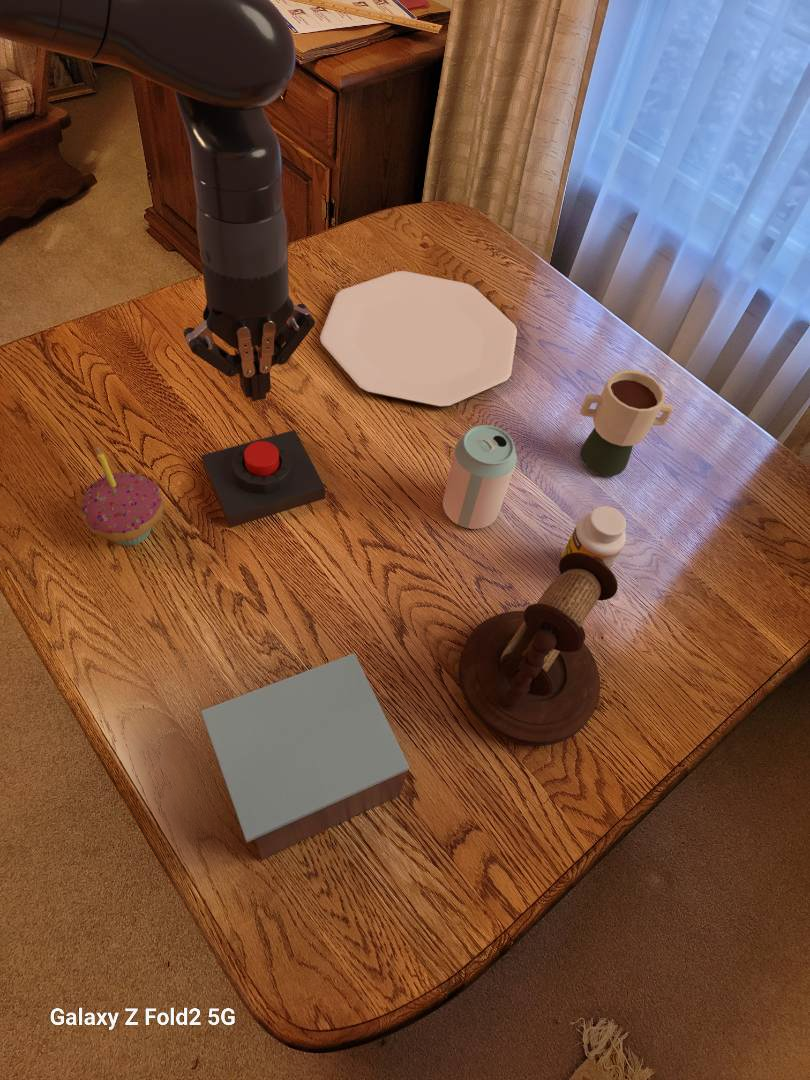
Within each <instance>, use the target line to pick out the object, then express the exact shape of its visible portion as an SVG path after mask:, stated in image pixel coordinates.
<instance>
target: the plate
mask: <svg viewBox="0 0 810 1080" xmlns="http://www.w3.org/2000/svg"><path fill="white" fill-rule="evenodd" d="M517 334H518V329H517V327H516V324H514V322H513V321H511V320H510V319H509V318H508V317H507V316H506V315H505V314H503V312H502V311H500V310H499V308H497V307H496V306H495V304H493V303H492V302H491V301H489V299H488V298H486V296H485V295H483V293H482V292H481V291H479V290H478V289H477V288H476V287H475V286H474V285H472V284H469V283H466V282H462V281H457V280H452V279H447V278H441V277H436V276H431V275H428V274H427V275H426V274H422V273H416V272H412V271H406V270H396V271H393V272H390V273H387V274H384V275H381V276H378V277H375V278H373V279H369V280H366V281H364V282H360V283H357V284H354V285H351V286H349V287H346V288H342V289H340V290H339V291H338V292H337V293H336V294H335V296H334V299H333V301H332V304H331V306H330V309H329V310H328V314H327V317H326V320H325V322H324V325H323V327H322V330H321V333H320V335H319V340H320V344H321V346H322V347H323V348H324V349H325V350H326V351H327V352H328V354H329V355H330V356H331V357H332V358H333V360H334V361H335V362H336V363H337V364H338V365H339V367H341V369H342V370H343V372H345V373H346V375H348V377H349V378H350V379H351V380H352V381H353V383H354V384H355V385H356V386H357V387H358V388H359V389H360V390H362V391H364V392H366V393H368V394H373V395H378V396H383V397H388V398H392V399H398V400H402V401H407V402H413V403H417V404H421V405H427V406H430V407H431V406H432V407H437V408H448V407H452V406H455V405H456V404H459V403H461V402H463V401H465V400H468V399H470V398H473V397H475V396H478V395H479V394H481V393H484V392H486V391H489V390H491V389H493V388H495V387H498V386H499V385H502V384H504V383H507V381H508V380H510V378H511V375H512V371H513V365H514V364H513V363H514V357H515V351H516V342H517Z"/></svg>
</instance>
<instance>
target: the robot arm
mask: <svg viewBox="0 0 810 1080" xmlns="http://www.w3.org/2000/svg"><path fill="white" fill-rule="evenodd" d="M0 39H3V40H8V41H11V42H14V43H18V44H21V45H25V46H30V47H33V48H37V49H41V50H45V51H49V52H53V53H56V54H61V55H64V56H68V57H73V58H77V59H81V60H85V61H89V62H92V63H93V62H94V63H97V64H98V63H99V64H104V65H110V66H114V67H118V68H121V69H124V70H126V71H128V72H132V73H133V74H135V75H138V76H140V77H142V78H144V79H146V80H149V81H151V82H153V83H154V84H157V85H159V86H162V87H165V88H167V89H169V90H172V91H173V92H174V95H175V99H176V103H177V107H178V109H179V113H180V116H181V120H182V122H183V125H184V129H185V132H186V136H187V140H188V144H189V149H190V150H189V151H190V163H191V164H190V165H191V170H192V179H193V187H194V194H195V203H196V213H195V214H196V215H195V216H196V219H195V220H196V233H197V241H198V248H199V256H200V262H201V271H202V275H203V276H202V277H203V285H204V286H203V287H204V293H205V299H206V304H205V307H204V310H203V311H202V318H203V321H202V322H201V323H199V324H198V326H196V327H195V328H194V327H191V326H190V327H189V326H188V327H187V328H185V329H184V331H183V336H184V338H185V342H186V343H187V345H188V348H189V349H190V351H191V353H192V354H194V355H195V356H197V357H198V358H199V359H201V360H202V361H204V362H206V363H207V364H209V365H210V366H211V367H213V368H214V369H216V370H217V371H219V372H220V373H222V374H224V375H225V376H227V377H229V378H232V377H233V378H234V377H235V376H236V375H239V385H240V388H241V391H242V392H243V393H244V397H245V398H247V399H249V398H250V400H251V402H257V401H261V400H265V399H267V394H268V393H269V394H270V392H271V389H272V385H271V384H272V383H271V370H272V368H273V367H274V366H275V365H279V366H282V365H285V364H286V363H287V362H288V361H289V359H290V358H291V357H292V355H294V353H295V352H296V350H297V349H298V347H299V346H300V345H301V344H302V342H303V341H304V340H305V338H306V337H307V336H308V334H309V333H310V332H311V330H312V329H313V328H314V327H315V325H316V321H315V319H314V317H313V315H312V313H310V311H309V308H308V307H307V306H306V305H305V303H299V304H297V305H296V304H294V302H293V300H292V298H291V296H290V283H289V282H290V281H289V246H290V239H289V236H288V225H287V216H286V213H285V212H286V211H285V206H284V182H283V181H284V179H283V178H284V177H283V158H282V157H283V156H282V148H281V145H280V141H279V138H278V135H277V133H276V131H275V130H274V127H273V126H272V124H271V122H270V120H269V118H268V117H267V114H266V112H265V109H264V107H267V106H268V105H270V104H272V103H274V102H275V101H276V100H278V99H279V98H280V97H281V96H282V95H283V94H284V92H285V91H286V90H287V89H288V87H289V86H290V83H291V81H292V79H293V77H294V72H295V69H296V68H295V67H296V46H295V42H294V37H293V34H292V31H291V29H290V26H289V25H288V22H287V20H286V19H285V17H284V16H283V14H282V13H281V11H280V10H279V8H278V7H277V6H276V4H274V3H273V2H272V1H271V0H0ZM213 334H214V335H215V336H217V337H218V338H219V339H220V340H222V341H223V342H224V343H225V344H227V345H228V346H229V347H231V348H233V352H234V354H230V353H229V352H228V351H227V350H225V349H224V348H223V347H221V346H220V345H218V344H217V343H216V342H215V340H214V337H213Z"/></svg>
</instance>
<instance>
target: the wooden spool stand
mask: <svg viewBox="0 0 810 1080" xmlns="http://www.w3.org/2000/svg"><path fill="white" fill-rule="evenodd" d="M559 561H560V562H559ZM559 561H558V571H559V574H560V575H558V577H557V578H555V579H554V580H553V581H552V582H551V584H550V585H548V587H547V588H546V590H544V592H543V593H542V594H541V596H540V597H539V599H538V600H537V602H536V603H532V604H529V605H528V606H527V607H526V608H525V610H511V611H506V612H505V611H504V612H501V613H498V614H496V615H493V616H491V617H488V618H487V619H485V620H484V621H483V622H481V623H480V624H478V625H477V626H476V627H475V628H474V629H473V631H472V632H471V633H470V634H469V636H468V638H467V639H466V641H465V643H464V645H463V648H462V651H461V653H460V657H459V660H458V681H459V686H460V690H461V693H462V696H463V698H464V700H465V702H466V704H467V706H468V707H469V709H470V711H471V713H473V715H474V716H475V717H476V719H478V721H479V722H480V723H482V724H483V726H485V727H486V728H487V729H489V730H490V731H491V732H492V733H494V734H496V735H497V736H499V737H500V738H502V739H505V740H508V741H509V742H512V743H515V744H519V745H524V746H531V747H546V746H551V745H555V744H558V743H561V742H565V741H567V740H568V739H570V738H572V737H573V736H575V735H577V734H578V733H579V732H580V731H581V730H582V729H583V728H584V727H585V725H587V724H588V722H589V721H590V719H591V718H592V716H593V715H594V713H595V711H596V709H597V706H598V704H599V700H600V695H601V679H600V673H599V668H598V665H597V663H596V662H597V661H596V660H595V657H594V656H593V653H592V652H591V650H590V648H589V647H588V645H587V644H586V642H585V641H586V631H585V629H584V627H583V626H582V625H583V623H584V622H585V620H586V619H587V617H588V616H589V614H590V612H591V611H592V609H593V608H594V606H595V605H596V603H597V602H598V601H607V600H610V599H612V598H613V597H614V596H616V593H617V591H618V588H619V587H618V585H619V584H618V581H617V578H616V576H615V574H614V572H613V571H612V569H611V568H610V569H609V568H608V567H607V566H606V565H605V563H604V561H603V560H602V559H601V558H599V557H596V556H590V555H588V554H584V553H578V552H574V553H569V554H566V555H565V556H563V557H562V559H561V560H560V559H559Z"/></svg>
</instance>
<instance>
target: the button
mask: <svg viewBox="0 0 810 1080" xmlns="http://www.w3.org/2000/svg"><path fill="white" fill-rule="evenodd" d="M244 459H245V466H246V469H247V470H248V471H249V472H250V473H251V474H253V475H256V476H268V475H271V474H273V473H274V472H275V471H276V470H277V469H278V467H279V452H278V449H277V448H276V447H275V446H274V445H273V444H271V443H269V442H265V441H259V442H254V443H252V444H250V445H249V446H248V447H247V448H246V450H245V452H244Z"/></svg>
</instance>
